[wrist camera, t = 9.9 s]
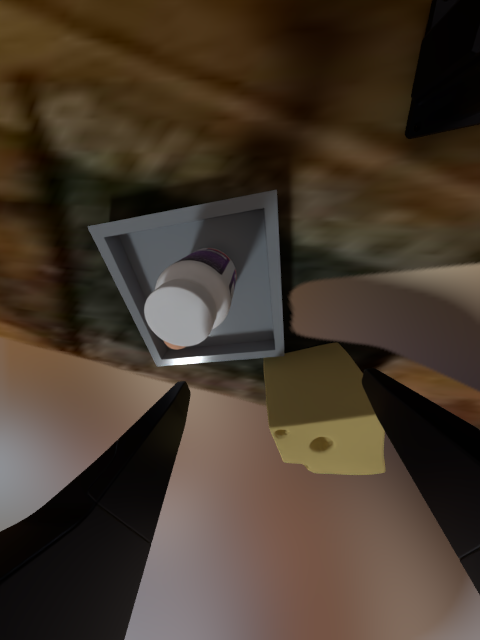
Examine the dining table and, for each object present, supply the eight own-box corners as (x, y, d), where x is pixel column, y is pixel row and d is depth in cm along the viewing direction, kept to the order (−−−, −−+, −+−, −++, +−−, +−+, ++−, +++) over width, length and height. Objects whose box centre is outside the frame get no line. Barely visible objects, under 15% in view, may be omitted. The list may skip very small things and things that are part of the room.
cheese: (276, 403, 29) (286, 481, 20) (259, 352, 24) (263, 427, 16) (344, 393, 27) (388, 475, 18) (341, 336, 22) (398, 410, 14)
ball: (191, 315, 21) (181, 329, 18) (198, 337, 23) (190, 354, 20) (165, 318, 22) (153, 333, 19) (174, 340, 23) (163, 356, 20)
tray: (273, 194, 16) (276, 189, 13) (281, 342, 23) (284, 355, 21) (108, 225, 18) (87, 226, 15) (165, 353, 25) (156, 366, 23)
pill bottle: (175, 265, 19) (110, 303, 10) (217, 235, 17) (183, 250, 8) (206, 306, 21) (174, 367, 12) (246, 283, 19) (242, 334, 11)
